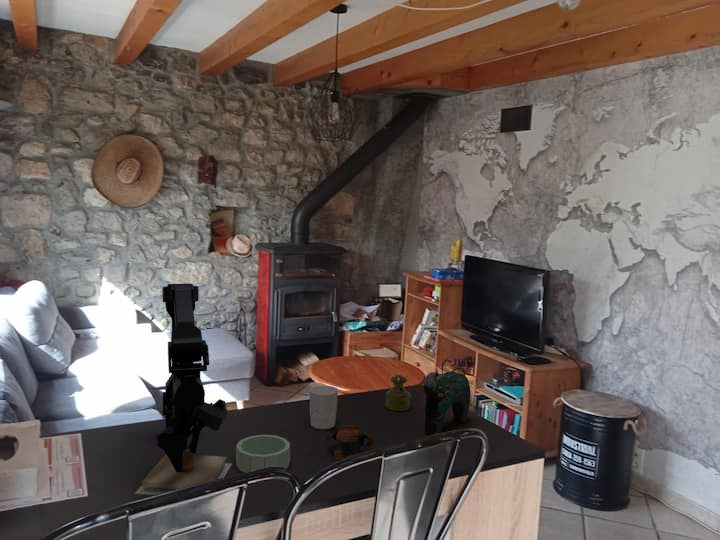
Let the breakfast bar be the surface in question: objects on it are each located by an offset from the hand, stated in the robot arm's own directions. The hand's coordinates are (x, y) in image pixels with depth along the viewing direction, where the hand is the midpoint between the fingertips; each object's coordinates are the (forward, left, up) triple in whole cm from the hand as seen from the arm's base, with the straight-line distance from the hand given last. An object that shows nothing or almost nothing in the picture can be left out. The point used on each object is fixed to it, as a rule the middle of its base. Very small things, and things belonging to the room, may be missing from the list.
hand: (186, 462), depth 129 cm
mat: (0, 0, -4) cm, 4 cm away
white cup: (+26, +36, -4) cm, 45 cm away
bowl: (+15, +9, -4) cm, 18 cm away
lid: (0, 0, -4) cm, 4 cm away
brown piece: (+35, +18, -4) cm, 39 cm away
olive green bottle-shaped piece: (+47, +53, -4) cm, 71 cm away
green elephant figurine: (+60, +39, -4) cm, 72 cm away
